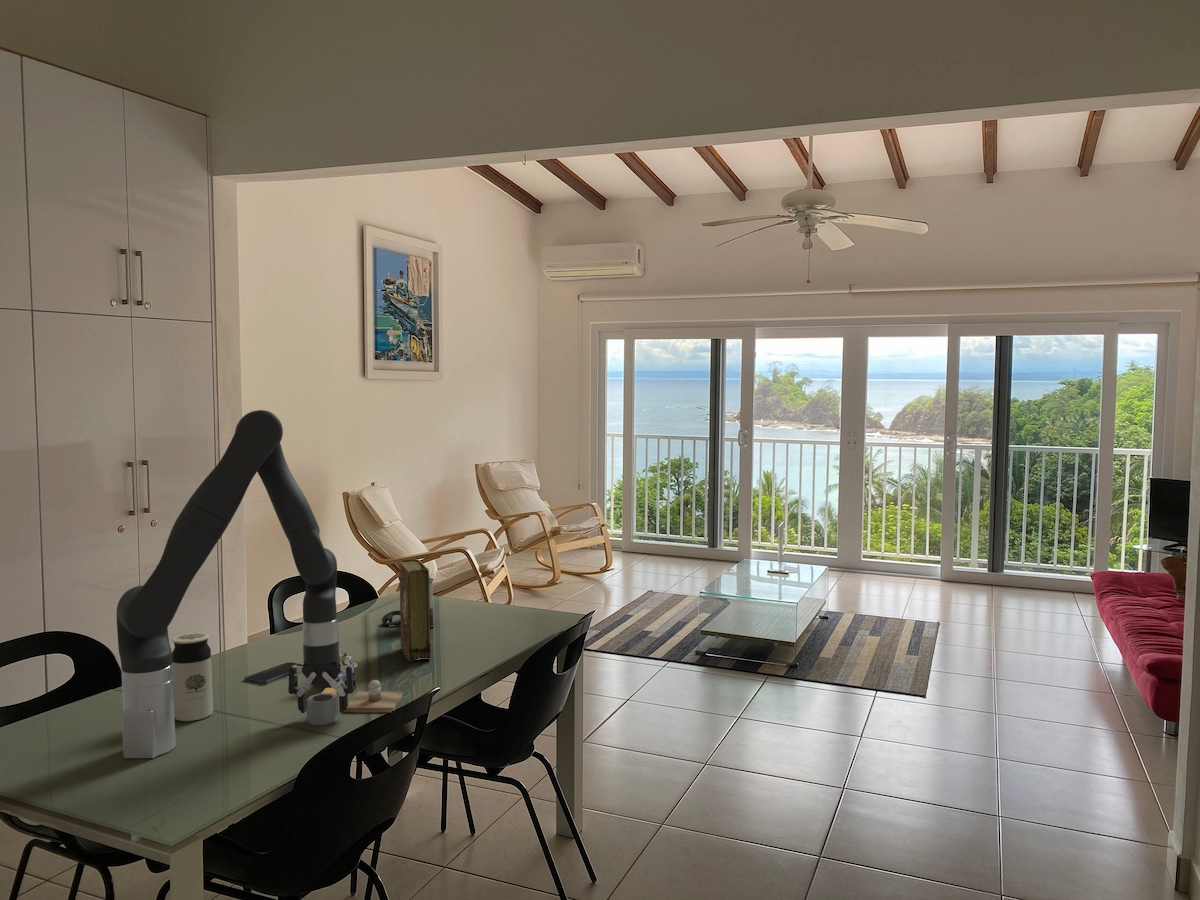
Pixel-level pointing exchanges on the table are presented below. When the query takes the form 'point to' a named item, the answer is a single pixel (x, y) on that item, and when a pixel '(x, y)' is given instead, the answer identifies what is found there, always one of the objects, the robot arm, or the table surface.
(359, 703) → the base
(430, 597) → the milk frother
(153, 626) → the robot arm
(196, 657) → the travel mug
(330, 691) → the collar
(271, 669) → the phone
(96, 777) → the table surface
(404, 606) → the book
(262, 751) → the table surface
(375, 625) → the table surface
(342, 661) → the passion flower
